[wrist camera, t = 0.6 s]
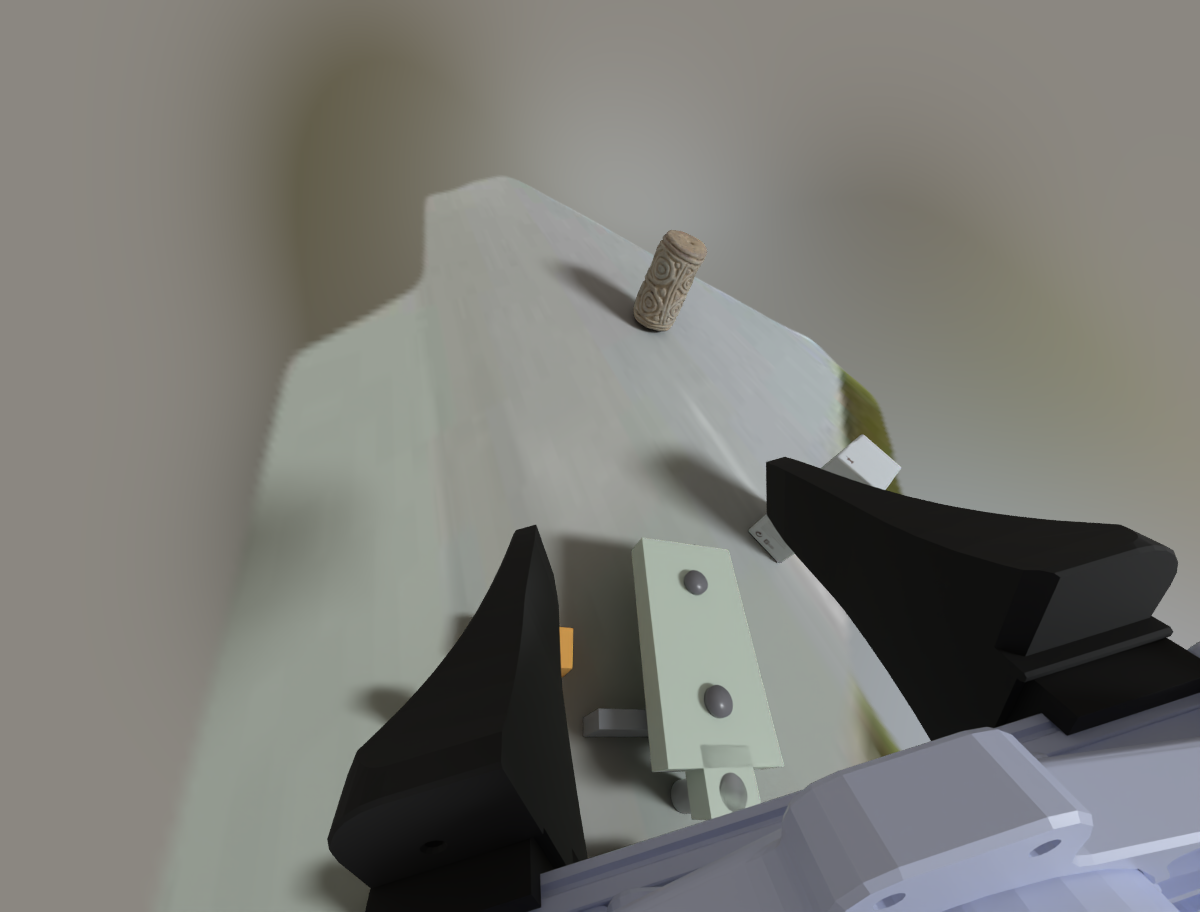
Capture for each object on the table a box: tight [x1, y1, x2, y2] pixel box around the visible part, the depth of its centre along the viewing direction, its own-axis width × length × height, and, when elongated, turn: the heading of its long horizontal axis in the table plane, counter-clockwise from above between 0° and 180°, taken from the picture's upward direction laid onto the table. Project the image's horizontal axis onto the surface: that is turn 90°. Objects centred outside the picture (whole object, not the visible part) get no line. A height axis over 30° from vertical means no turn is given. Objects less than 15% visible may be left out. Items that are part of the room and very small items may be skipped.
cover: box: [631, 538, 784, 820], centre depth 27 cm, size 7×15×6 cm, turn 3°
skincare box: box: [749, 435, 901, 563], centre depth 38 cm, size 6×4×12 cm
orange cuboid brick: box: [560, 627, 573, 677], centre depth 27 cm, size 2×5×2 cm, turn 92°
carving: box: [633, 230, 707, 331], centre depth 56 cm, size 6×8×12 cm
